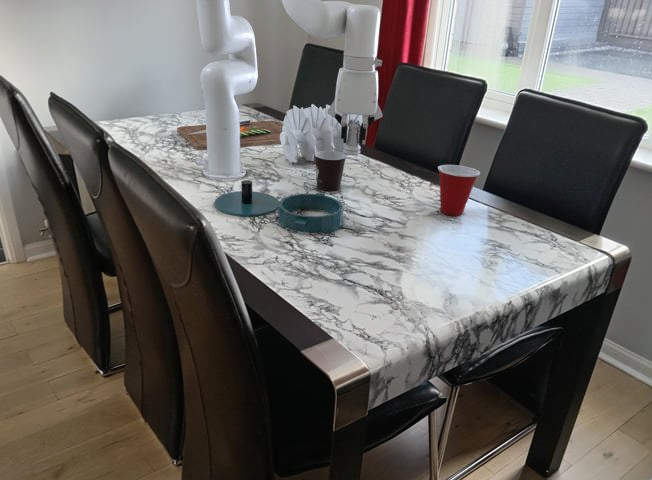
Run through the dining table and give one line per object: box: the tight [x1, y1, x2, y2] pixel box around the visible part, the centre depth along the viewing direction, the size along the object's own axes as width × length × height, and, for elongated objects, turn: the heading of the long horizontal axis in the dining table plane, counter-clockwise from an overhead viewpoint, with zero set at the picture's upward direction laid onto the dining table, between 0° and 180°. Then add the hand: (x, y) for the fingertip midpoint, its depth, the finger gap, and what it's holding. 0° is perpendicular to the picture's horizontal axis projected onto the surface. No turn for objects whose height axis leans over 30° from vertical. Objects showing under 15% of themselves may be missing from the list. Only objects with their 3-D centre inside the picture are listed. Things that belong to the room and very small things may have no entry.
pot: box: [277, 192, 344, 234], centre depth 142 cm, size 16×21×4 cm
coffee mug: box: [314, 150, 347, 193], centre depth 163 cm, size 12×9×10 cm
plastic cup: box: [437, 164, 481, 217], centre depth 151 cm, size 11×11×12 cm
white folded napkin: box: [280, 103, 363, 165], centre depth 185 cm, size 18×18×25 cm
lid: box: [214, 179, 280, 218], centre depth 148 cm, size 17×17×7 cm
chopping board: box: [171, 119, 283, 151], centre depth 208 cm, size 45×27×3 cm, turn 117°
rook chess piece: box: [343, 120, 362, 156], centre depth 142 cm, size 4×4×8 cm
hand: (352, 141), depth 143 cm, fingers closed on rook chess piece, 3 cm apart
